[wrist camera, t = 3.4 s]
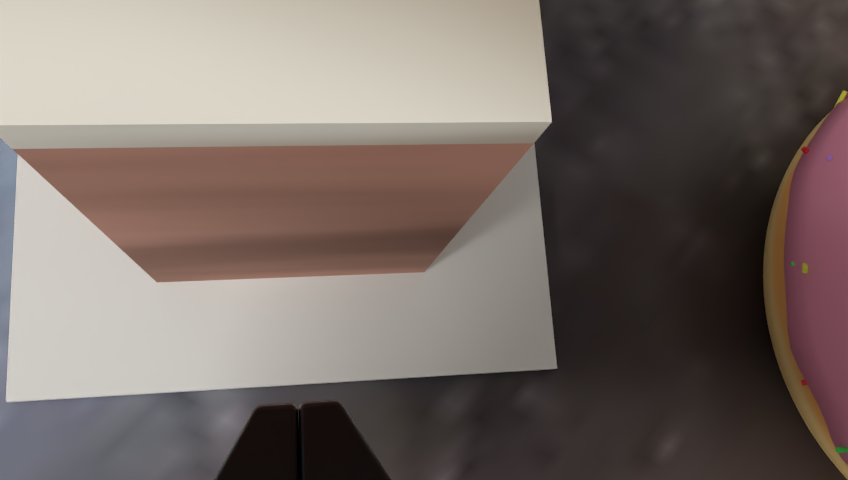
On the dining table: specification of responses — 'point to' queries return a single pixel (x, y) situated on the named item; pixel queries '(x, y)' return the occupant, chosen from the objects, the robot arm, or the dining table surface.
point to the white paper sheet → (270, 310)
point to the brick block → (273, 125)
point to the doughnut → (813, 282)
